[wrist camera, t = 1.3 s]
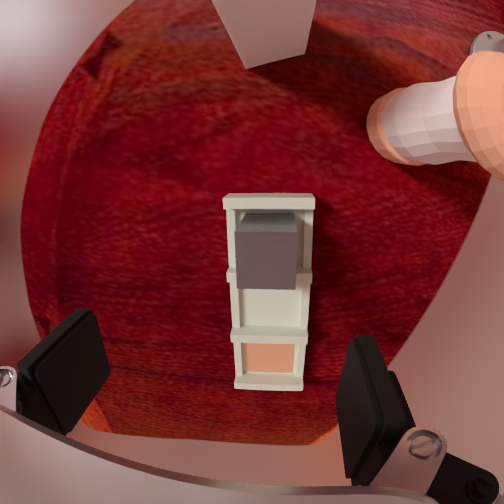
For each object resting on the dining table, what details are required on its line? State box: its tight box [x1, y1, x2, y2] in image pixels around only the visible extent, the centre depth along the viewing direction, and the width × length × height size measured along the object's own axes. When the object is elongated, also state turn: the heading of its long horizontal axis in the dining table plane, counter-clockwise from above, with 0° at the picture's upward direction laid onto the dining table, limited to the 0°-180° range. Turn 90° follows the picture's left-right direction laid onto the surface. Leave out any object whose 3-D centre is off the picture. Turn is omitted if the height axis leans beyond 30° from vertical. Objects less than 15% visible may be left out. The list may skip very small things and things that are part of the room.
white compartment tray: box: [223, 193, 315, 391], centre depth 31 cm, size 8×22×3 cm, turn 1°
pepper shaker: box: [367, 51, 504, 180], centre depth 16 cm, size 7×7×19 cm
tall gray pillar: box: [234, 213, 297, 290], centre depth 26 cm, size 4×4×7 cm
